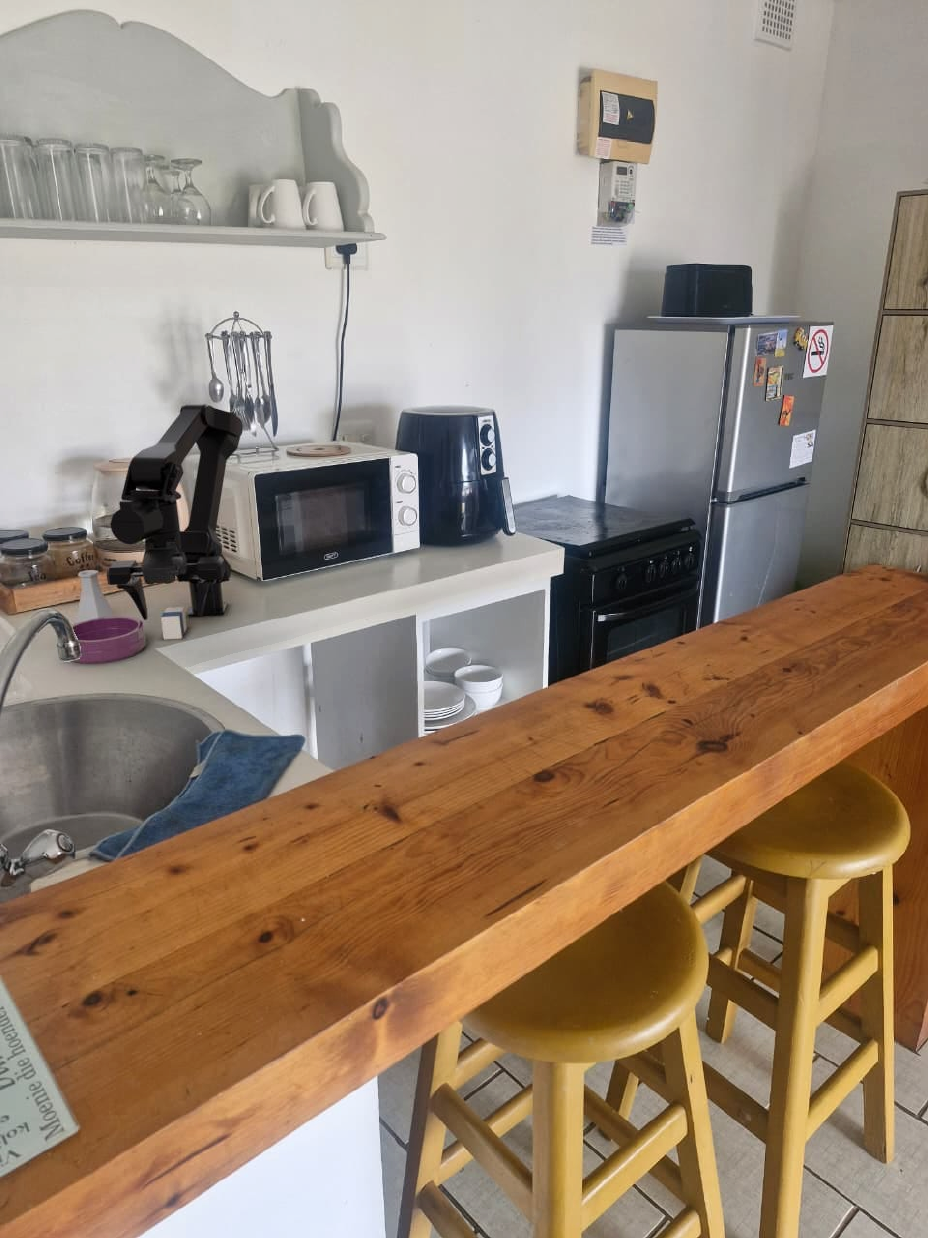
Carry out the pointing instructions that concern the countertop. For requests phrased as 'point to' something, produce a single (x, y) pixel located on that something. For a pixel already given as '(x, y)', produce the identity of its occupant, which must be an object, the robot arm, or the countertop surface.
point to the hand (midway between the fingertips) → (173, 617)
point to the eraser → (173, 623)
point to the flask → (92, 598)
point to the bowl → (109, 639)
